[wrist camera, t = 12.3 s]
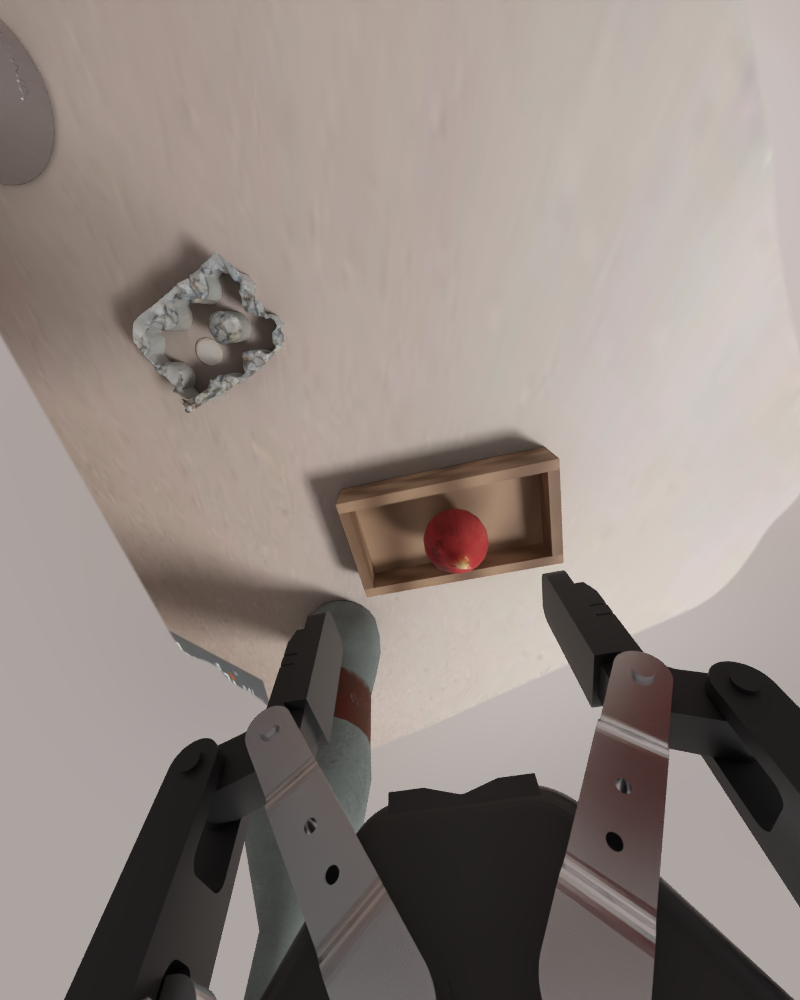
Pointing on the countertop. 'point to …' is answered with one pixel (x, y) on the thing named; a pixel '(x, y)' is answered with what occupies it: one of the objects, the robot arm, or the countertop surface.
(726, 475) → the countertop surface
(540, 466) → the wooden tray
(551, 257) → the countertop surface
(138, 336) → the egg carton
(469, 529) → the onion
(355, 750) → the bottle
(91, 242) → the countertop surface
